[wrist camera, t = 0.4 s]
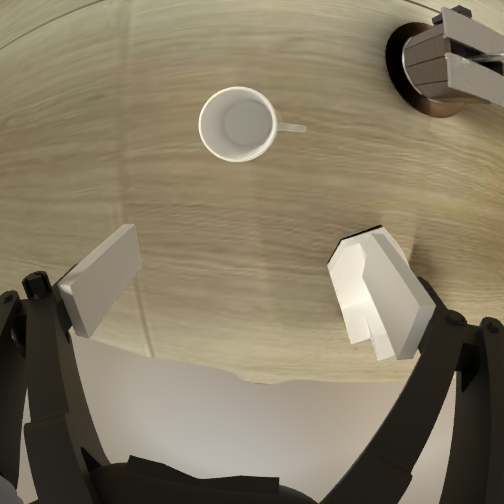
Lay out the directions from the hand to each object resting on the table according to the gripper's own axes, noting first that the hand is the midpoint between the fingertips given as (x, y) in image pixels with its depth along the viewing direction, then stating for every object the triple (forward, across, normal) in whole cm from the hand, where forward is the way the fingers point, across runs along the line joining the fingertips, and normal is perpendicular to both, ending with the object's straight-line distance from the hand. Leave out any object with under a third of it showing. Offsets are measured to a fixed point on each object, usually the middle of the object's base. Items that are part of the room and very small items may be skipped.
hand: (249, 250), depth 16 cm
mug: (+28, -1, +6) cm, 29 cm away
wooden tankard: (+28, +25, +19) cm, 42 cm away
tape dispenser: (+28, +17, -18) cm, 37 cm away
